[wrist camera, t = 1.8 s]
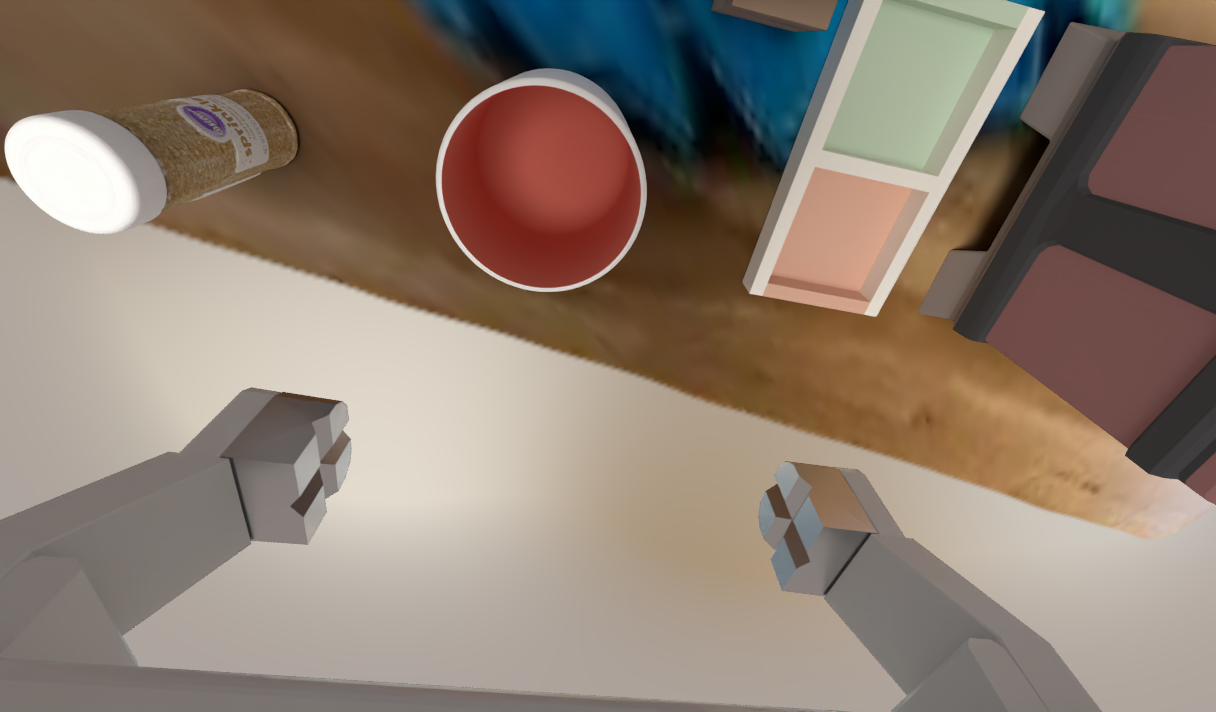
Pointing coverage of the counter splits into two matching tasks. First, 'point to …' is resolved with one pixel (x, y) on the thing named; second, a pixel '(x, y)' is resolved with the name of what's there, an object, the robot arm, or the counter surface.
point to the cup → (542, 181)
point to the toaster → (1112, 249)
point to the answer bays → (883, 145)
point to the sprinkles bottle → (145, 156)
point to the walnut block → (781, 12)
